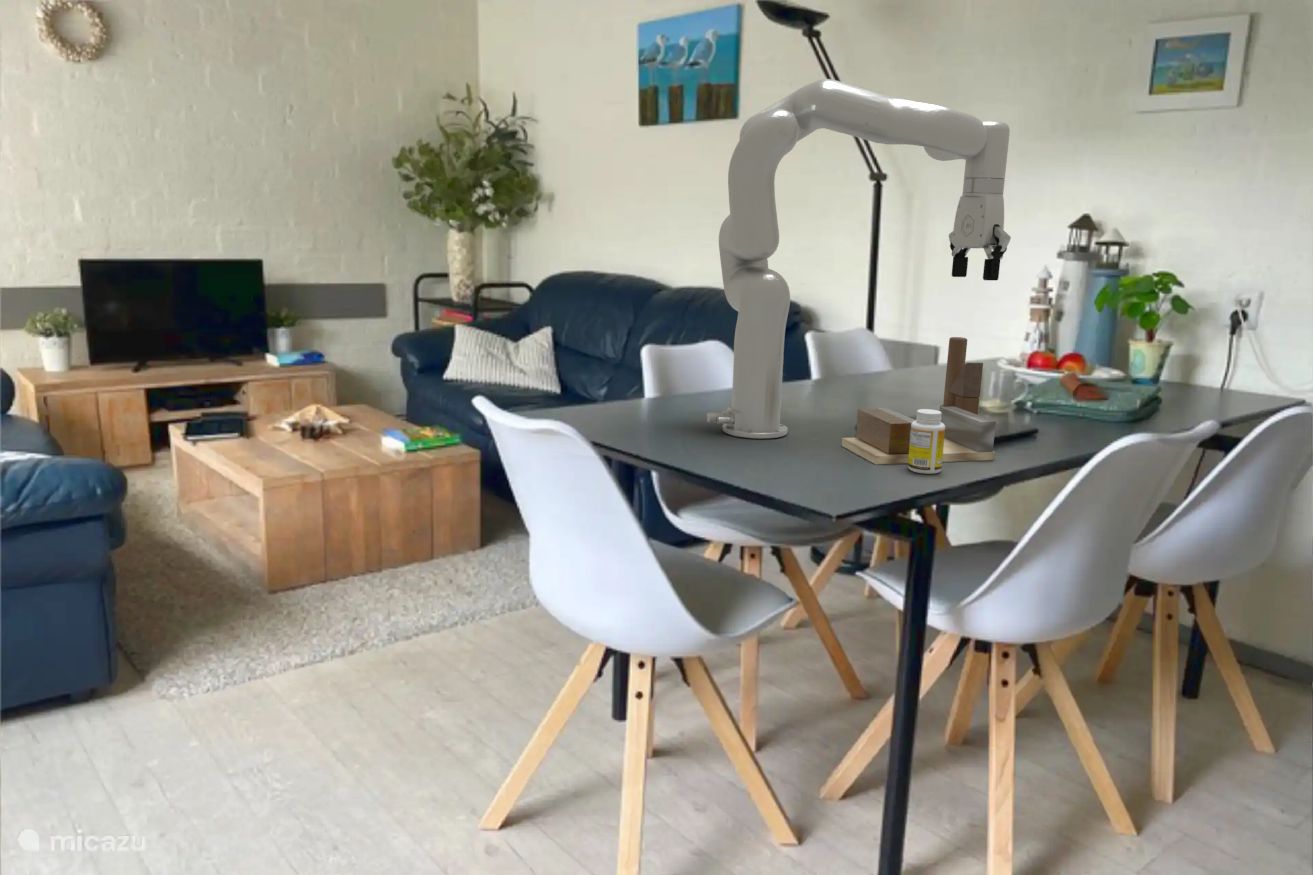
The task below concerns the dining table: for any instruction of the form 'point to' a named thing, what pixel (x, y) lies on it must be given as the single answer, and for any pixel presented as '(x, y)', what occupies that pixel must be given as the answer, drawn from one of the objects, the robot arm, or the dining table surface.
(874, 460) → the vise bed
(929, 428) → the supplement bottle
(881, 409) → the block
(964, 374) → the wooden block
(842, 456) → the dining table surface
